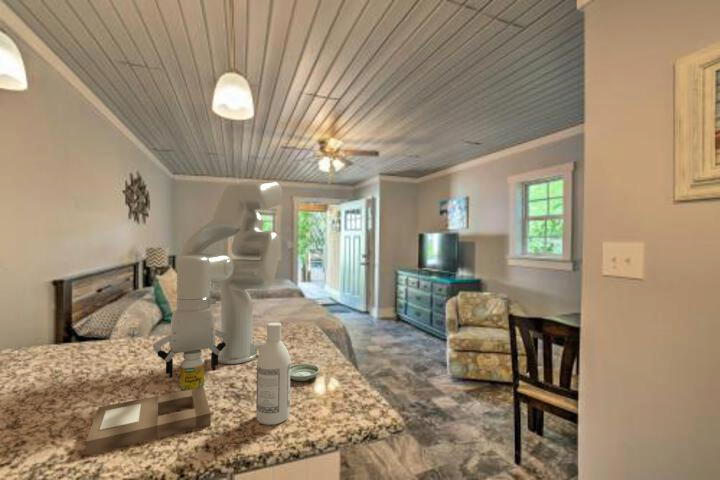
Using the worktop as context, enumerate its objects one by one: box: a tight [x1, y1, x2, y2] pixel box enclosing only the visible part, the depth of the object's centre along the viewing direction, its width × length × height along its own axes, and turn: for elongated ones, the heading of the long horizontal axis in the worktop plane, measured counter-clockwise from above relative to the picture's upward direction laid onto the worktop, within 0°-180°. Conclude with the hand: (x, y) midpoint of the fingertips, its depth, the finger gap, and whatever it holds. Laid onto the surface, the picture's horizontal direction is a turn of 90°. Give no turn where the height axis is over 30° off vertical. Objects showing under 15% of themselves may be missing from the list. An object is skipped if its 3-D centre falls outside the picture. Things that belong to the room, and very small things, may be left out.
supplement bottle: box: [180, 350, 205, 392], centre depth 85 cm, size 5×5×10 cm
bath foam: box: [255, 322, 291, 426], centre depth 72 cm, size 7×7×20 cm
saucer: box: [290, 363, 321, 382], centre depth 93 cm, size 10×10×2 cm
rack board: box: [85, 386, 212, 457], centre depth 70 cm, size 20×14×3 cm
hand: (192, 372), depth 85 cm, fingers open, 9 cm apart
